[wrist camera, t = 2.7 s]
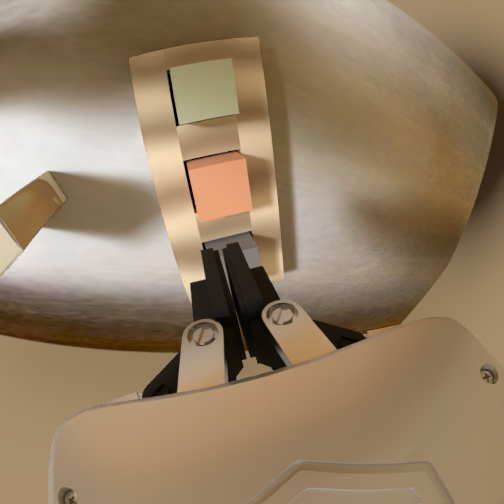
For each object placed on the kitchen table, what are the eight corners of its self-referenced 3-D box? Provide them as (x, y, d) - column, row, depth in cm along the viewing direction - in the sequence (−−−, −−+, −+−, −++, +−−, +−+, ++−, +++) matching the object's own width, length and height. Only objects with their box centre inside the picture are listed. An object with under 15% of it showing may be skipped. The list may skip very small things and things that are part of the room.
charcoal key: (204, 240, 30) (208, 259, 27) (247, 230, 31) (257, 246, 28) (213, 277, 33) (218, 297, 30) (253, 266, 34) (262, 285, 31)
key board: (132, 62, 20) (128, 58, 18) (250, 42, 22) (258, 36, 20) (188, 289, 36) (190, 303, 33) (276, 266, 37) (284, 278, 35)
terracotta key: (186, 161, 25) (188, 170, 22) (236, 151, 26) (245, 158, 23) (196, 207, 28) (199, 222, 25) (243, 196, 29) (252, 210, 26)
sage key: (170, 73, 21) (169, 68, 17) (223, 64, 21) (231, 58, 18) (178, 122, 23) (179, 125, 20) (230, 112, 24) (239, 113, 21)
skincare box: (36, 228, 25) (-9, 289, 15) (17, 200, 23) (-38, 253, 13) (70, 197, 25) (24, 252, 15) (50, 167, 23) (-8, 209, 13)
